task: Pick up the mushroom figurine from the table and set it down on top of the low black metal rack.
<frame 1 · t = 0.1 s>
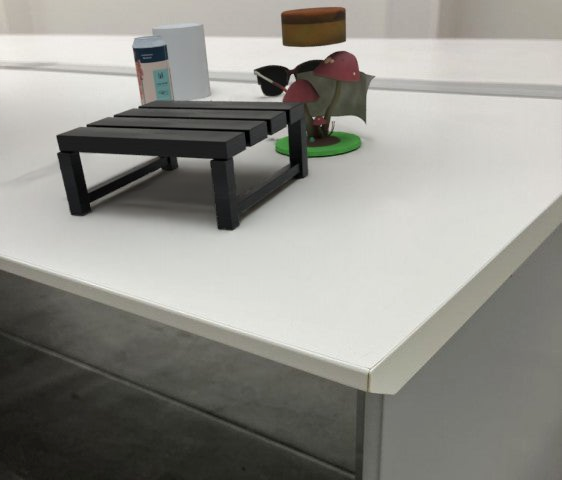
sunglasses: (311, 101, 112), on the table
beer can: (161, 129, 100), on the table
rack: (195, 193, 71), on the table
mushroom figurine: (322, 148, 84), on the table
cup: (187, 107, 114), on the table
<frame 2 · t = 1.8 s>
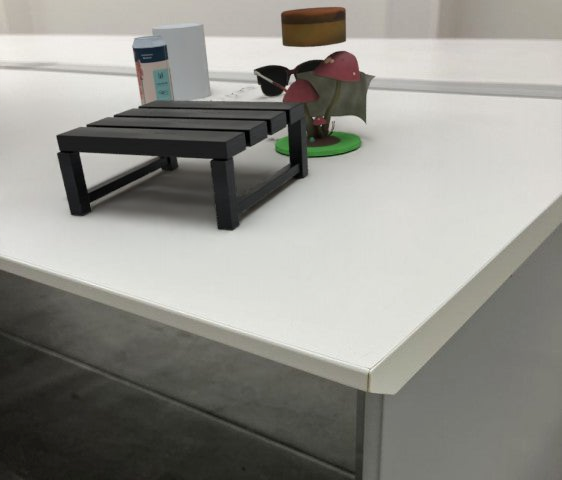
nothing on the table moved.
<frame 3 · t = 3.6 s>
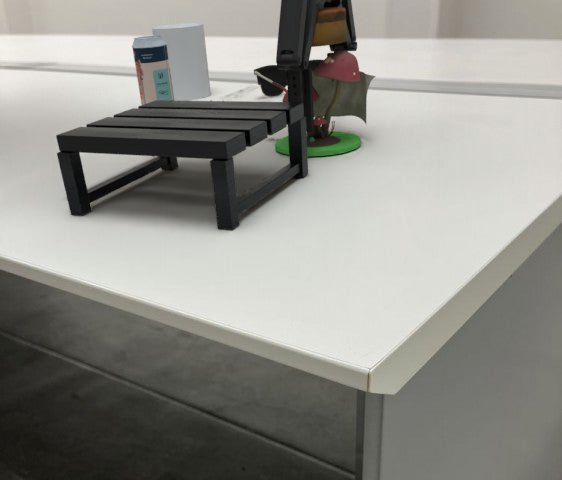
hand: (321, 119, 83), 3 cm above the table, tool pointing down, fingers closed on mushroom figurine, 12 cm apart
mushroom figurine: (322, 148, 84), on the table, touching gripper
everything else where it was.
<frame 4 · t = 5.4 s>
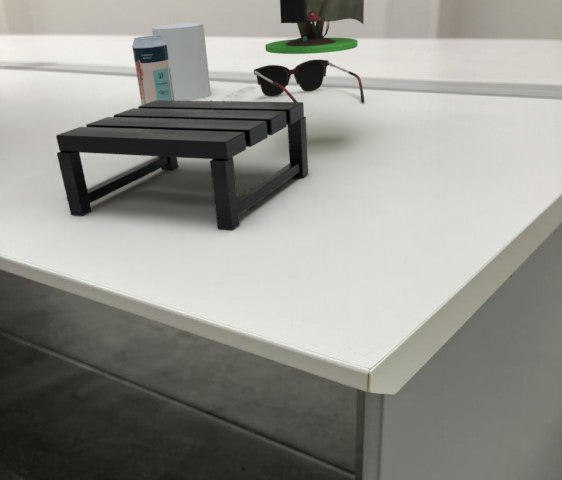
hand: (315, 17, 77), 14 cm above the table, tool pointing down, fingers closed on mushroom figurine, 12 cm apart
mushroom figurine: (316, 50, 79), point 11 cm above the table, touching gripper
everything else where it was.
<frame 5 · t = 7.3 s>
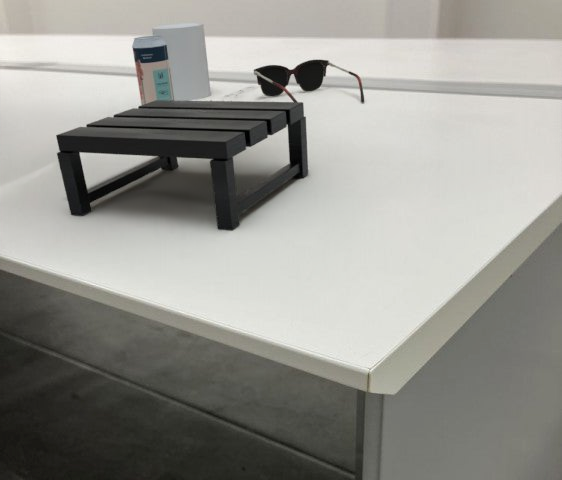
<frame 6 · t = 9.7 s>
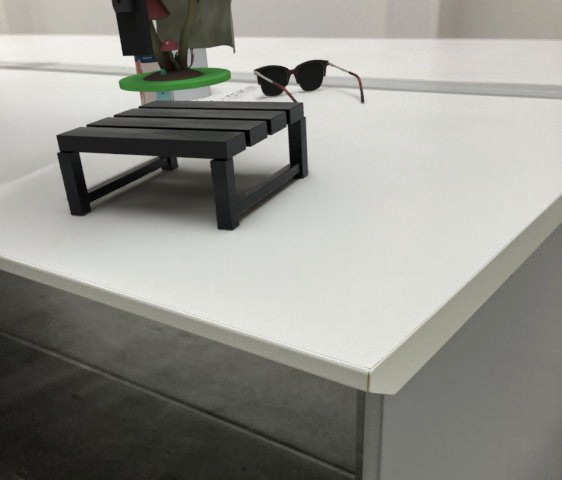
hand: (176, 46, 63), 14 cm above the table, tool pointing down, fingers closed on mushroom figurine, 12 cm apart
mushroom figurine: (181, 85, 65), point 10 cm above the table, touching gripper
everything else where it was.
when the fingers open (11 cm above the table, at t = 11.2 s): mushroom figurine stays where it is, resting on rack.
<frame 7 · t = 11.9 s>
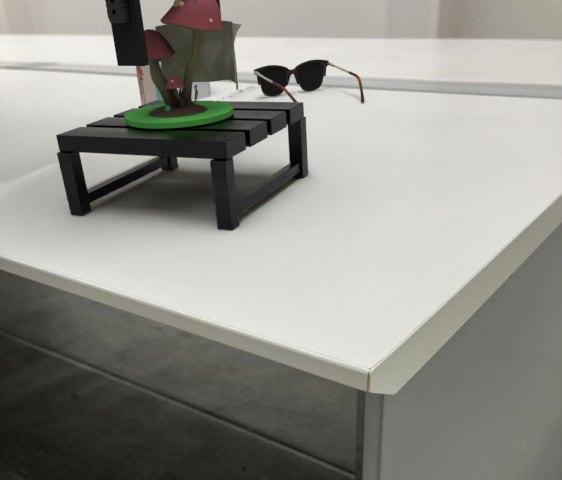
hand: (174, 54, 64), 13 cm above the table, tool pointing down, fingers open, 13 cm apart
mushroom figurine: (185, 119, 67), point 7 cm above the table, touching rack
everything else where it was.
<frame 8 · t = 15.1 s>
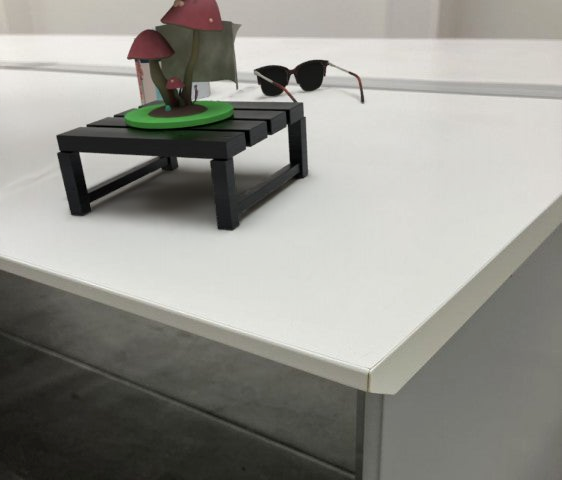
nothing on the table moved.
at the end: mushroom figurine inside the target area on the rack (0.1 cm from its centre), point 7.3 cm above the rack's base; mushroom figurine tilted 0°; the gripper is holding nothing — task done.
